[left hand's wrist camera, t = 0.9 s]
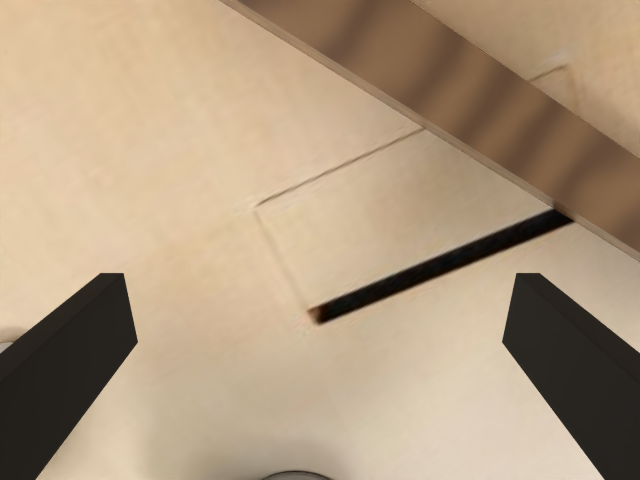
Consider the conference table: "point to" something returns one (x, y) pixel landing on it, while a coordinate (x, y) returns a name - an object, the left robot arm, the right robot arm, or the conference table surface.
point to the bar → (467, 104)
